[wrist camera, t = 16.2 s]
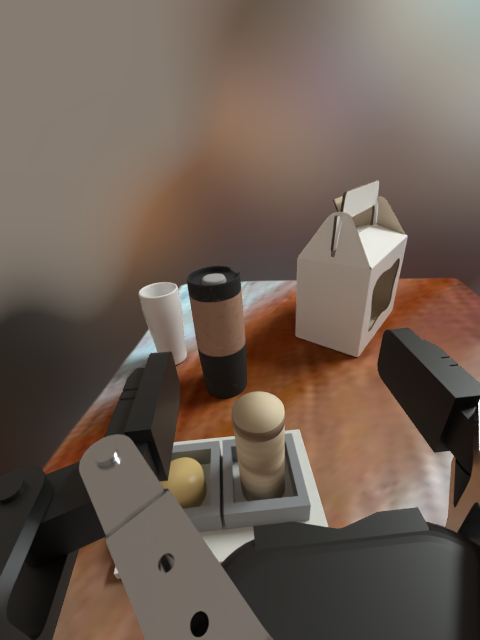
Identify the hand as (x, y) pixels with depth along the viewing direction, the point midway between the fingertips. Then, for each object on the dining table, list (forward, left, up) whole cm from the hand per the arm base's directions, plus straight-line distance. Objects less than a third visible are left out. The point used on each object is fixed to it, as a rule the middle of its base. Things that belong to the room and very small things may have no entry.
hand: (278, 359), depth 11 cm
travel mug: (-8, -29, -28) cm, 41 cm away
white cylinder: (-2, -41, -28) cm, 50 cm away
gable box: (-39, -33, -28) cm, 59 cm away
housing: (0, -12, -28) cm, 30 cm away
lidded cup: (-4, -10, -27) cm, 29 cm away
